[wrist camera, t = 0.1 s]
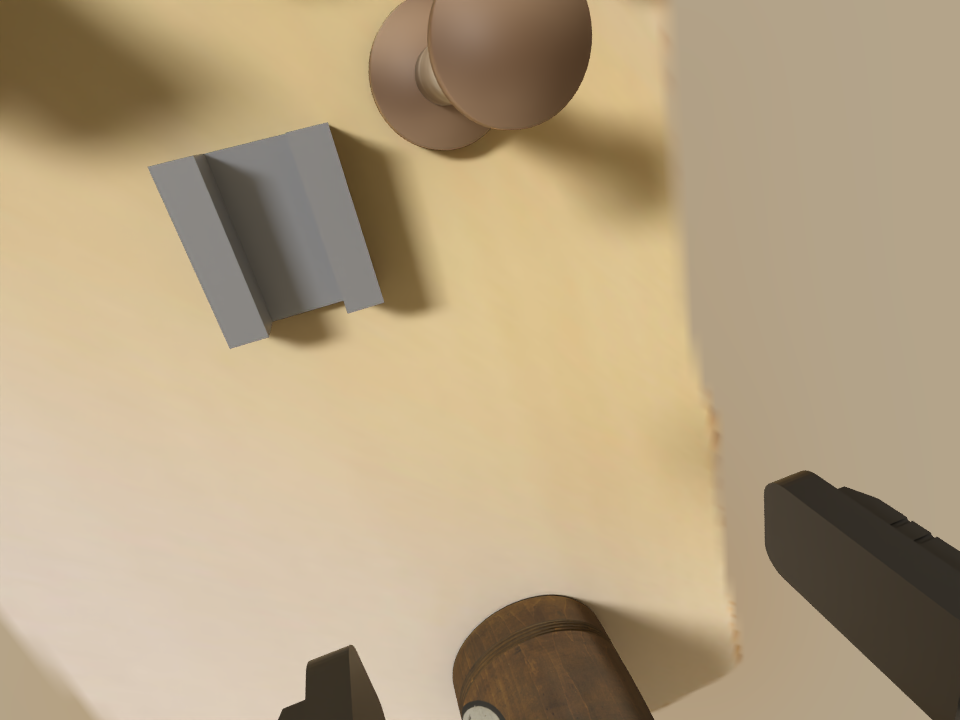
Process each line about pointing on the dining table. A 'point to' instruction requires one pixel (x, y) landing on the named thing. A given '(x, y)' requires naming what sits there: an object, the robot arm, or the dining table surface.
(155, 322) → the dining table surface
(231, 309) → the grooved channel block
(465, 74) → the bobbin
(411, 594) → the dining table surface
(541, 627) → the wooden container
